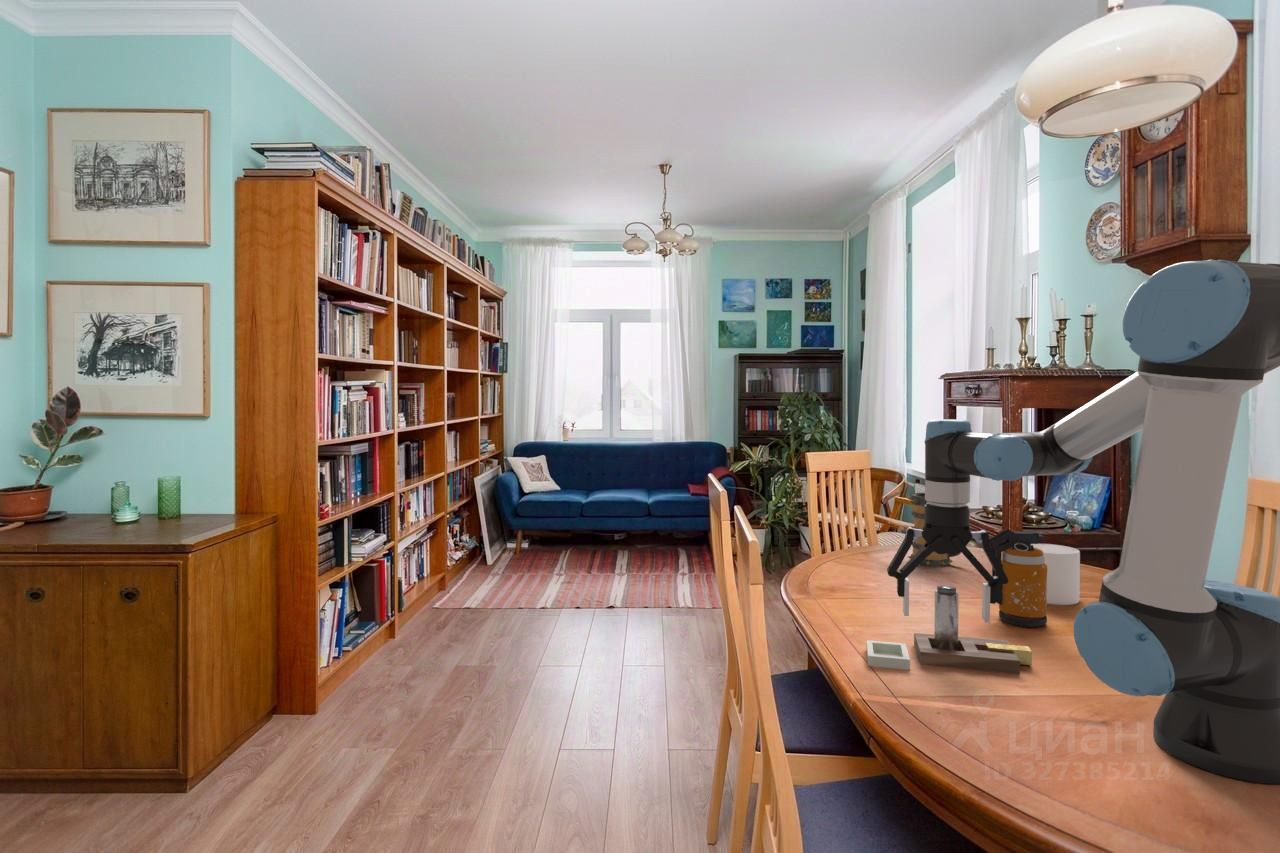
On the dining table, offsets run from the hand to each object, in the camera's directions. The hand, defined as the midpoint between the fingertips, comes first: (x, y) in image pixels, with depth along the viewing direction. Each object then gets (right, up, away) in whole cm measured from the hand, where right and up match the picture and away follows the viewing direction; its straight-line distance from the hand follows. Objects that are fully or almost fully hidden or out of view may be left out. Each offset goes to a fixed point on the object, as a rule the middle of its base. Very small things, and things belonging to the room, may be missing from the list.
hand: (945, 617), depth 123 cm
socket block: (+3, -8, -1) cm, 9 cm away
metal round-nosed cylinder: (0, -7, 0) cm, 7 cm away
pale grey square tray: (-11, -8, -1) cm, 14 cm away
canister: (+25, -7, +21) cm, 33 cm away
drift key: (+10, -8, -3) cm, 13 cm away
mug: (+31, -5, +72) cm, 79 cm away
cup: (+43, -6, +37) cm, 57 cm away
